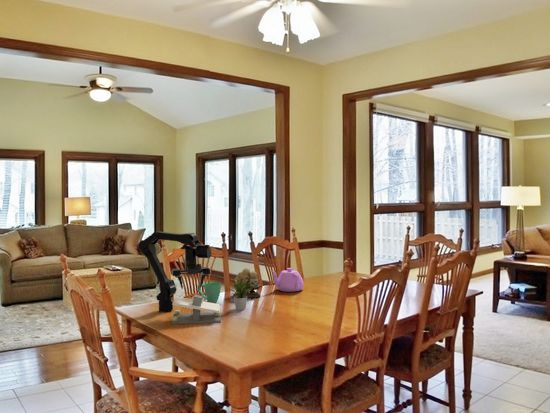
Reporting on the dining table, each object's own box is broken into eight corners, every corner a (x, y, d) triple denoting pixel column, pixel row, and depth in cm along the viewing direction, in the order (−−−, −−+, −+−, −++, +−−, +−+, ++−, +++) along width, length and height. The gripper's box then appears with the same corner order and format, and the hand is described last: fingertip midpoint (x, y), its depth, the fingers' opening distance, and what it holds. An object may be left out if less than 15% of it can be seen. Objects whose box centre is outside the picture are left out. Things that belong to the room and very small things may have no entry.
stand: (170, 324, 222) (170, 312, 222) (174, 315, 238) (174, 304, 238) (220, 322, 225) (220, 310, 225) (220, 313, 241) (220, 302, 241)
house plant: (250, 313, 241) (250, 281, 241) (224, 312, 244) (223, 280, 244) (257, 306, 255) (256, 276, 255) (232, 305, 258) (231, 275, 258)
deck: (172, 305, 223) (174, 294, 223) (175, 298, 237) (177, 288, 237) (219, 313, 226) (221, 302, 226) (219, 306, 239) (221, 296, 239)
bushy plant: (265, 296, 282) (265, 267, 282) (256, 300, 272) (255, 270, 271) (239, 293, 290) (238, 265, 290) (228, 297, 280) (228, 268, 279)
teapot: (263, 289, 301) (262, 267, 301) (292, 285, 312) (292, 264, 311) (279, 295, 282) (279, 272, 282) (311, 291, 292) (310, 269, 292)
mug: (224, 300, 270) (224, 283, 270) (215, 304, 261) (215, 286, 261) (203, 298, 276) (202, 281, 276) (193, 302, 267) (192, 284, 267)
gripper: (173, 260, 234) (173, 292, 234) (211, 258, 239) (211, 290, 239) (171, 258, 244) (172, 288, 245) (208, 256, 250) (208, 286, 250)
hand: (191, 288), depth 244 cm, fingers open, 9 cm apart
